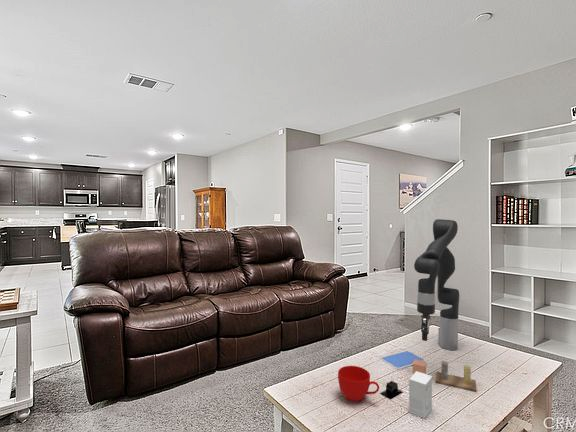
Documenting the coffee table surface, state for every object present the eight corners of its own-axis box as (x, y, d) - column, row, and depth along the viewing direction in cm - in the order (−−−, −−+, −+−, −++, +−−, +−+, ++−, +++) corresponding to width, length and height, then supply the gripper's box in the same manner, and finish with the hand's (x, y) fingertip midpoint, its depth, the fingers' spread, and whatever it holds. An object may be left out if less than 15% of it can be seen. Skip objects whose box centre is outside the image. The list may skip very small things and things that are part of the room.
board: (435, 382, 146) (435, 365, 146) (436, 373, 154) (436, 357, 154) (476, 392, 139) (476, 373, 139) (475, 382, 147) (475, 364, 147)
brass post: (463, 383, 144) (464, 367, 144) (463, 380, 146) (463, 365, 146) (470, 385, 143) (470, 369, 143) (470, 382, 145) (470, 366, 145)
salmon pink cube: (412, 377, 150) (413, 363, 150) (414, 372, 155) (414, 359, 155) (424, 380, 148) (425, 366, 148) (425, 375, 153) (426, 361, 152)
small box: (415, 402, 131) (416, 370, 131) (432, 408, 127) (432, 375, 127) (408, 412, 125) (408, 378, 125) (425, 419, 121) (426, 384, 121)
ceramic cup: (373, 414, 124) (374, 388, 124) (332, 400, 133) (332, 375, 133) (383, 397, 135) (383, 373, 135) (344, 385, 144) (345, 362, 144)
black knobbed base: (393, 385, 145) (393, 375, 145) (408, 393, 139) (408, 382, 139) (375, 395, 137) (375, 384, 137) (390, 403, 132) (390, 392, 131)
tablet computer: (397, 370, 158) (397, 368, 158) (379, 359, 169) (379, 357, 169) (426, 362, 166) (426, 360, 166) (406, 352, 178) (407, 350, 178)
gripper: (418, 297, 158) (418, 330, 158) (415, 304, 145) (414, 341, 145) (435, 299, 154) (435, 333, 155) (434, 307, 142) (433, 344, 142)
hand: (425, 337), depth 150 cm, fingers open, 8 cm apart
